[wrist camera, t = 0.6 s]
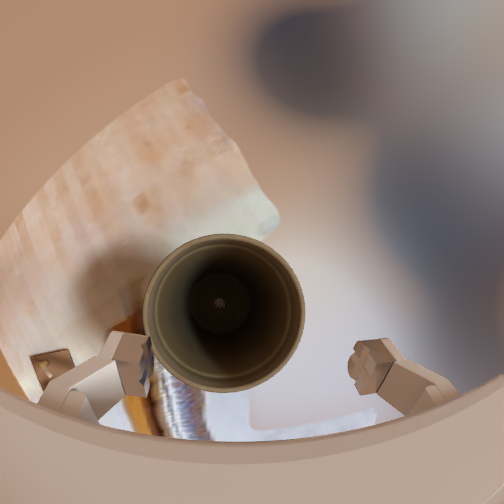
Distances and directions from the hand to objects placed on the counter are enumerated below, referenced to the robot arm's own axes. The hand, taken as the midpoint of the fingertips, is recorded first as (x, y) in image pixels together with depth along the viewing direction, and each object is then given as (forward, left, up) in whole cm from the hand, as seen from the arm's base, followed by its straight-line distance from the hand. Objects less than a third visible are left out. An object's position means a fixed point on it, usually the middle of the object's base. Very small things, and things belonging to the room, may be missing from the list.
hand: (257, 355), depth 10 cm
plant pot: (-3, 0, -52) cm, 52 cm away
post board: (-13, +48, -51) cm, 72 cm away
